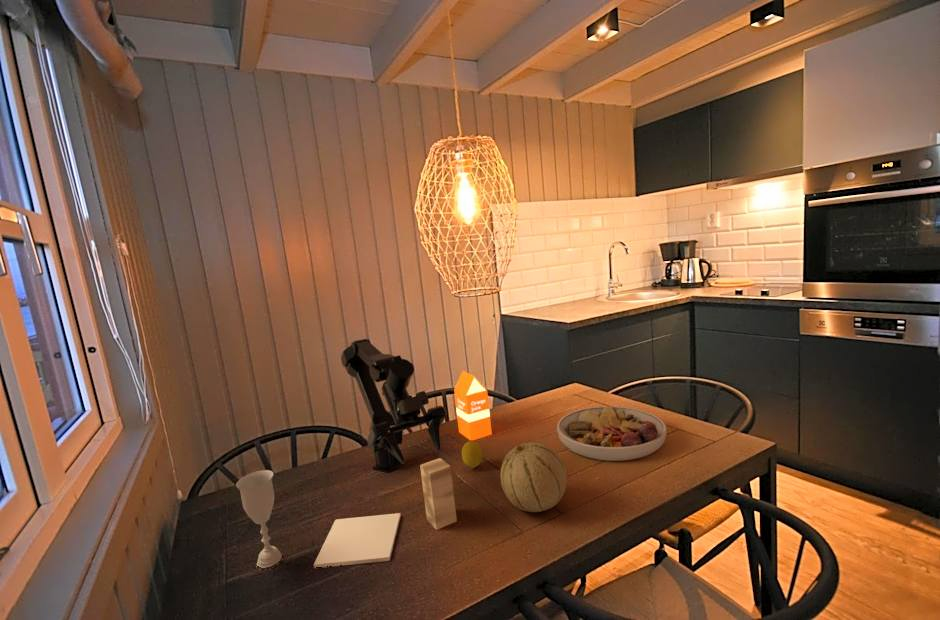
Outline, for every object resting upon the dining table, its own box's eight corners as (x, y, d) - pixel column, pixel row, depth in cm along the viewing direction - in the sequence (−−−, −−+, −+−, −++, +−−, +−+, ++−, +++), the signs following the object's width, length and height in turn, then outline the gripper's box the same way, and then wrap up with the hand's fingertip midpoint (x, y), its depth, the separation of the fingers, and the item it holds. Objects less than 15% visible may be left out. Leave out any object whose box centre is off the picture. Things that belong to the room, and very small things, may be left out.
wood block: (426, 519, 102) (420, 465, 100) (446, 511, 105) (440, 457, 103) (436, 530, 98) (429, 473, 96) (456, 521, 100) (450, 465, 99)
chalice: (259, 551, 97) (245, 472, 94) (291, 546, 97) (278, 468, 95) (245, 576, 90) (229, 491, 87) (280, 570, 90) (265, 486, 88)
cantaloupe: (583, 510, 99) (578, 445, 97) (526, 535, 93) (520, 466, 91) (543, 482, 112) (538, 425, 110) (491, 502, 106) (485, 441, 104)
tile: (336, 522, 105) (335, 519, 104) (400, 516, 104) (400, 513, 104) (314, 568, 90) (313, 564, 90) (389, 560, 90) (389, 557, 89)
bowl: (537, 445, 134) (535, 420, 133) (596, 414, 153) (594, 391, 152) (630, 478, 111) (628, 448, 110) (686, 436, 130) (685, 410, 129)
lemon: (481, 473, 120) (478, 444, 119) (461, 473, 121) (458, 445, 120) (485, 463, 126) (482, 435, 125) (465, 463, 127) (462, 436, 126)
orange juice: (479, 425, 152) (473, 368, 150) (492, 434, 144) (486, 373, 142) (458, 432, 149) (451, 373, 146) (470, 441, 141) (463, 379, 138)
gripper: (366, 392, 104) (389, 454, 96) (439, 374, 113) (466, 429, 105) (360, 416, 111) (381, 475, 103) (429, 397, 121) (453, 450, 113)
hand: (422, 456), depth 106 cm, fingers open, 9 cm apart
